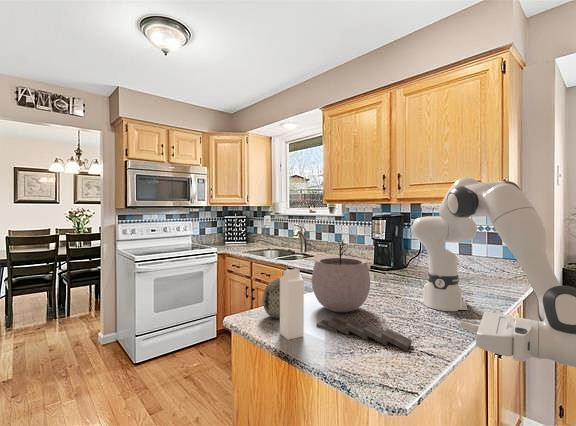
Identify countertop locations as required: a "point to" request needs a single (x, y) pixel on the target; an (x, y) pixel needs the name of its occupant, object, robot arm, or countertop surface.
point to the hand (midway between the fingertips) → (460, 323)
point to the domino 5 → (396, 339)
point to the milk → (292, 304)
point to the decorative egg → (272, 298)
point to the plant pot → (341, 282)
